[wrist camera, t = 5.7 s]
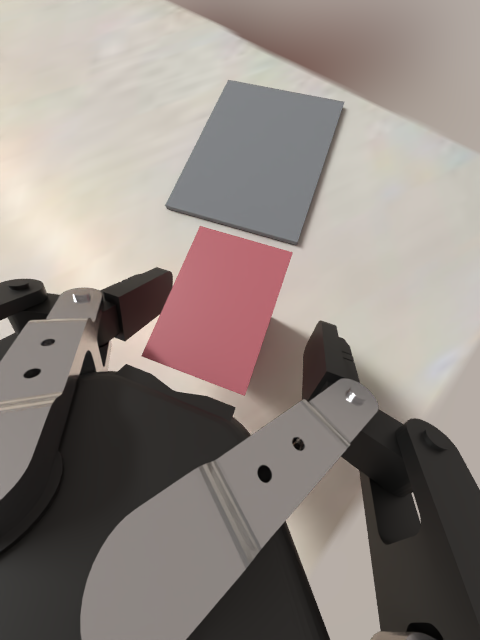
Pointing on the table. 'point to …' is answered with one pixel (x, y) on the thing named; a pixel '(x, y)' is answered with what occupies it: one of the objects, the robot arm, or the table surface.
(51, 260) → the table surface
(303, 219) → the rubber mat
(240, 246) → the card box
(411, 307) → the table surface
